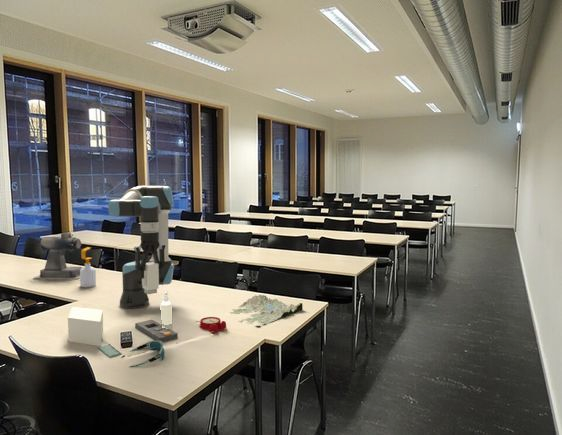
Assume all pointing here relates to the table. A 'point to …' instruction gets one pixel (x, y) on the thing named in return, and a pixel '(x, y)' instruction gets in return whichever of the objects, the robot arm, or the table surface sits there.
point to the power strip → (156, 330)
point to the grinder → (59, 257)
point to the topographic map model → (266, 310)
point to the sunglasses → (153, 344)
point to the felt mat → (109, 350)
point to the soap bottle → (87, 272)
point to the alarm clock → (212, 324)
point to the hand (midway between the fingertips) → (150, 284)
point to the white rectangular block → (85, 326)
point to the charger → (151, 278)
